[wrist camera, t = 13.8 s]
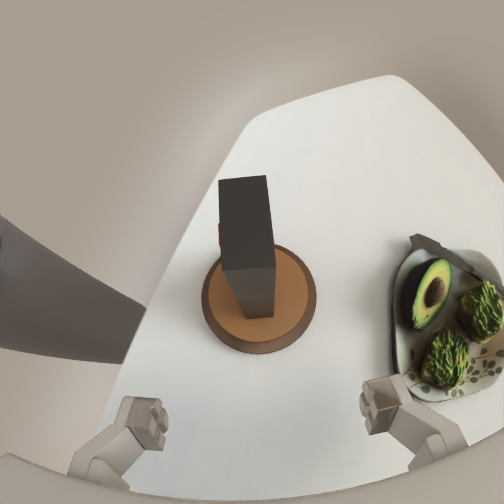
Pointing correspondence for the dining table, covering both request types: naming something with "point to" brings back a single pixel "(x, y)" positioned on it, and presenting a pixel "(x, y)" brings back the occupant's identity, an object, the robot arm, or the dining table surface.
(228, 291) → the slab on wooden base
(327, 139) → the dining table surface
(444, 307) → the salad plate
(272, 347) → the swivel stand
